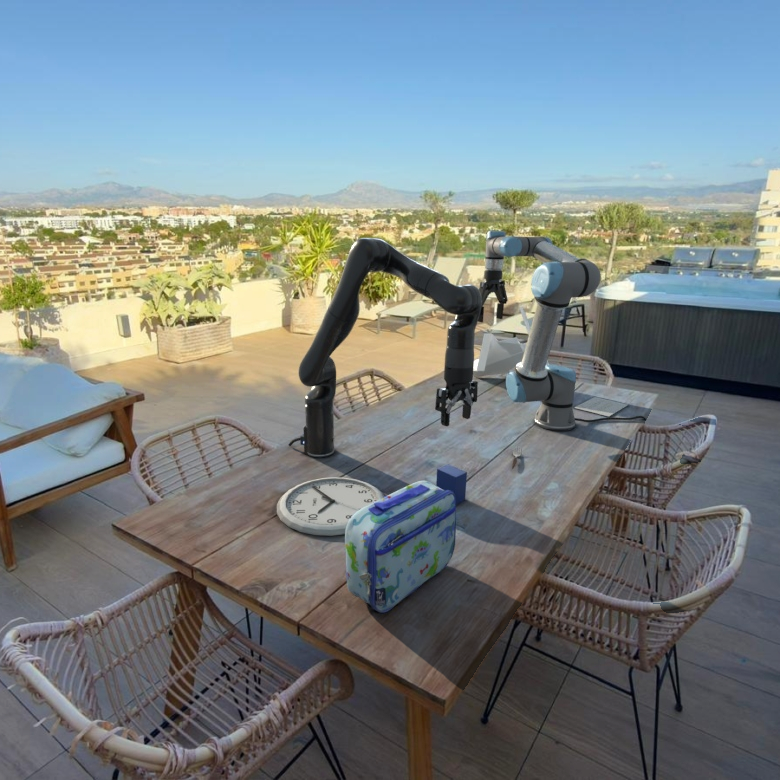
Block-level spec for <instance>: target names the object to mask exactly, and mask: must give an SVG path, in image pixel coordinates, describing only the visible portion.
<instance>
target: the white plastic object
mask: <svg viewBox="0 0 780 780" xmlns="http://www.w3.org/2000/svg"><path fill="white" fill-rule="evenodd" d="M519 310H520V314H521V316H522V320H523V323H524V326H525V329H526V331H527V335H528V336H529V333H530V330H531V325H530V323H529V319H528V316H527V313H526V311H525V309H524V307H523V306H520V307H519ZM526 344H527V341H526V342H524V343H522V342H520V341H519V338H518V337H516V336H514V337H510V338H506V339H502V340H499V339H497V338H496V336H495V335H494V334H493V333H483V337H482V342H481V346H480V352H479V356H478V358H477V359H474V368H473V378H474V377H475V378H477V377H488V376H495V375H500V376H505V375H507V374H508V373H510V372H511V370H513V369H515V368H516V365H517V364H518V363H519V362H522V359H523V355H524V351H525V348H526ZM546 365H550V363H549V358H548V359H547V363H546Z"/></svg>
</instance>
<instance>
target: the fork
mask: <svg viewBox="0 0 780 780" xmlns="http://www.w3.org/2000/svg"><path fill="white" fill-rule="evenodd" d="M522 451H523V447H519V446H516V445H515V447H514V449H513V453H512V455H513V456H514V458H513V460H512V467H511V470H513V469H514V468H515V466H516V465H517V462H518V461H517V460H518V458H519V457H521V456H522Z"/></svg>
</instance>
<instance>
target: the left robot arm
mask: <svg viewBox="0 0 780 780" xmlns="http://www.w3.org/2000/svg"><path fill="white" fill-rule="evenodd" d="M344 264H345V265H344V266H343V270H342V274H341V276H340V279H339V281H338V284H337V286H336V289H335V291H334V294H333V297H332V298H331V300H330V302H329V304H328V306H327V308H326V311H325V314H324V316H323V318H322V320H321V323H320V325H319V327H318V330H317V332H316V334H315V336H314V338H313V340H312V342H311V344H310V346H309V348H308V349H307V351H306V353H305V355H304V356H303V358H302V360H301V362H300V364H299V366H298V378H299V381H300V383H301V384H302V385H303V386H305V387H309V388H310V387H311V389H310V390H309V391H308V392H307V394H305V396H304V413H305V414H304V415H305V416H304V417H305V425H304V426H303V429H302V430H303V434H302V435H300V437H295V438H294V439H292V440H291V441H290V442H289V443H288V446H289V447H292V446H293V444H294V443H296V442H299V441H300V446H303V453H304V454H305V455H308V456H309V457H312V458H327V457H329V456H332V455H333V454H335V440H336V436H335V424H334V423H335V421H334V419H335V418H334V413H335V412H334V398H335V396H336V393H337V366H336V363H335V361H334V359H333V358H332V357H331V355H333V353H334V352H335V351H336V350H337V348H338V347H339V346H340V345H341V344H342V343H343V342H344V341H345V340H346V339H348V337H349V335H350V334H351V332H352V330H353V329H354V326H355V325H356V322H357V320H358V318H359V315H360V310H361V307H360V291H361V288H362V286H363V284H364V281H365V280H366V278H367V276H368V275H369V274H370V273H384V274H388V275H391V276H394V277H396V278H398V279H400V280H401V281H402V282H403V283H404V284H405V285H406V286H407V287H408V288H410V289H411V290H412V291H414V292H415V293H417V294H419V295H421V296H423V297H425V298H427V299H428V300H432V301H433V302H434V304H436V305H437V306H438V307H440V308H441V309H442V310H444V312H446V313H449V314H451V315H453V316H455V317H454V320H453V321H452V322H451V323H450V324H449V325H448V326H447V330H446V348H445V353H444V366H443V367H444V369H443V380H444V381H445V383H446V384H445V387H444V388H440V387H438V388H437V389H436V393H435V406H434V409H435V411H437V412H440V424H441V426H444V427H449V426H450V421H451V420H450V417H451V413H450V412H451V410H452V408H453V407H455V405H456V403H458V402H460V401H461V402H462V403H463V404H462V413H461V414H462V415H461V417H462V418H463V419H466V420H469V419H470V418H471V415H472V406H473V404H474V403H477V401H478V392H479V391H478V388H479V387H478V385H479V382H478V381H476V380H474V375H473V368H474V361H475V337H476V336H475V333H476V328H477V325H478V323H479V322H478V319H479V315H480V311H481V306H482V297H481V293H480V291H479V288H478V287H477V286H476V285H474V284H464V285H456V284H453V283H451V282H450V280H449V278H448V277H447V276H446V275H444V274H442V273H440V272H439V271H436V270H434V269H432V268H430V267H428V266H426V265H424V264H421V263H419V262H417V261H415V260H414V259H411V258H409V257H408V256H407V255H405V254H403V253H402V252H400V251H399V250H398V249H396V248H395V247H394V246H393V245H391V244H390V243H388V242H386V241H385V240H383V239H381V238H373V237H361V238H358V239H357V240H356V241H354V242H353V244H352V245H351V246H350V249H349V252H348V254H347V257H346V261H345V263H344Z"/></svg>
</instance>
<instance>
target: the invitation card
mask: <svg viewBox="0 0 780 780" xmlns="http://www.w3.org/2000/svg"><path fill="white" fill-rule="evenodd" d="M628 406H629V404H627V403H623V402H618V401H614V400H609V399H605V398H601V397H596V396H593V397H592V398H590V399H588V400H586V401H584V402H582V403H580V404H578V405H575V406H574V407H573V409H575V410H581V411H584V412H587V413H593V414H596V415H600V416H604V417H607V418H610V417H612V416H613V415H614V414H616V413H617V412H619V411H621V410H623V409H624V408H626V407H628Z"/></svg>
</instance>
